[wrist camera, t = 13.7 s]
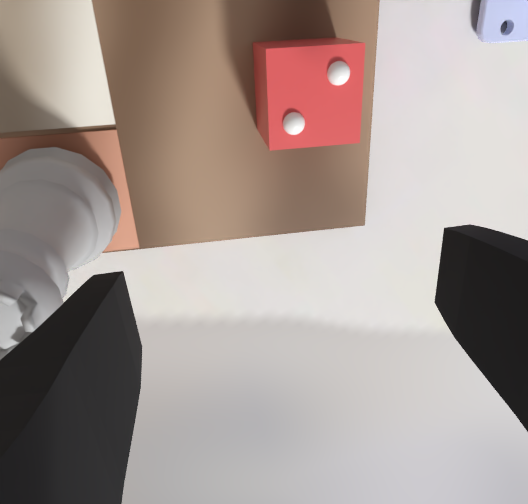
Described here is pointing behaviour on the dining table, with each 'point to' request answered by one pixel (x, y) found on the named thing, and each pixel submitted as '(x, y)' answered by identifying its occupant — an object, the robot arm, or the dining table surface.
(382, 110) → the dining table surface
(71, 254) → the rook chess piece
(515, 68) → the dining table surface
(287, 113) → the red die
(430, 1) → the dining table surface
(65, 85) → the game board
